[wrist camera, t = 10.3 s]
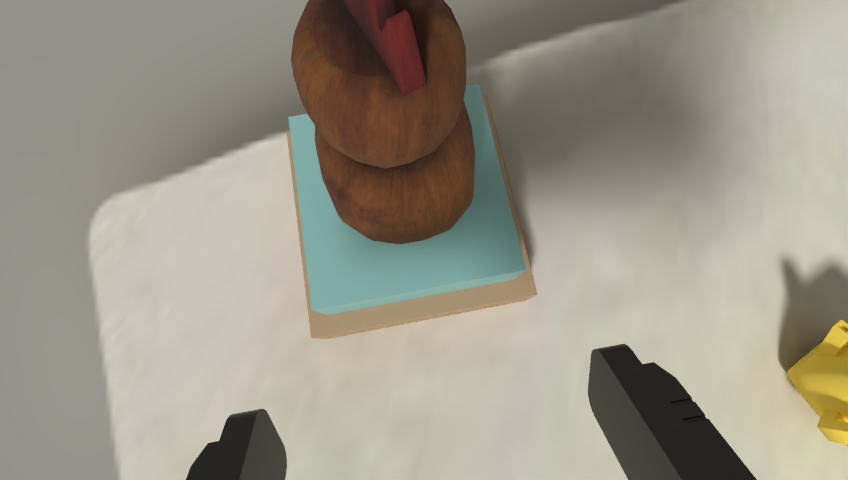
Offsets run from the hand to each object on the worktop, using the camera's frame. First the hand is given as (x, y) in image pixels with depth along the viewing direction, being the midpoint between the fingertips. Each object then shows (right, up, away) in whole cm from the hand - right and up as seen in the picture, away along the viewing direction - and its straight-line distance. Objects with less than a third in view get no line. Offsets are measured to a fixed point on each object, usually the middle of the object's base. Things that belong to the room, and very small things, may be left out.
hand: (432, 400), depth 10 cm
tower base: (-1, +5, +16) cm, 17 cm away
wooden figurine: (-1, +6, +10) cm, 12 cm away
